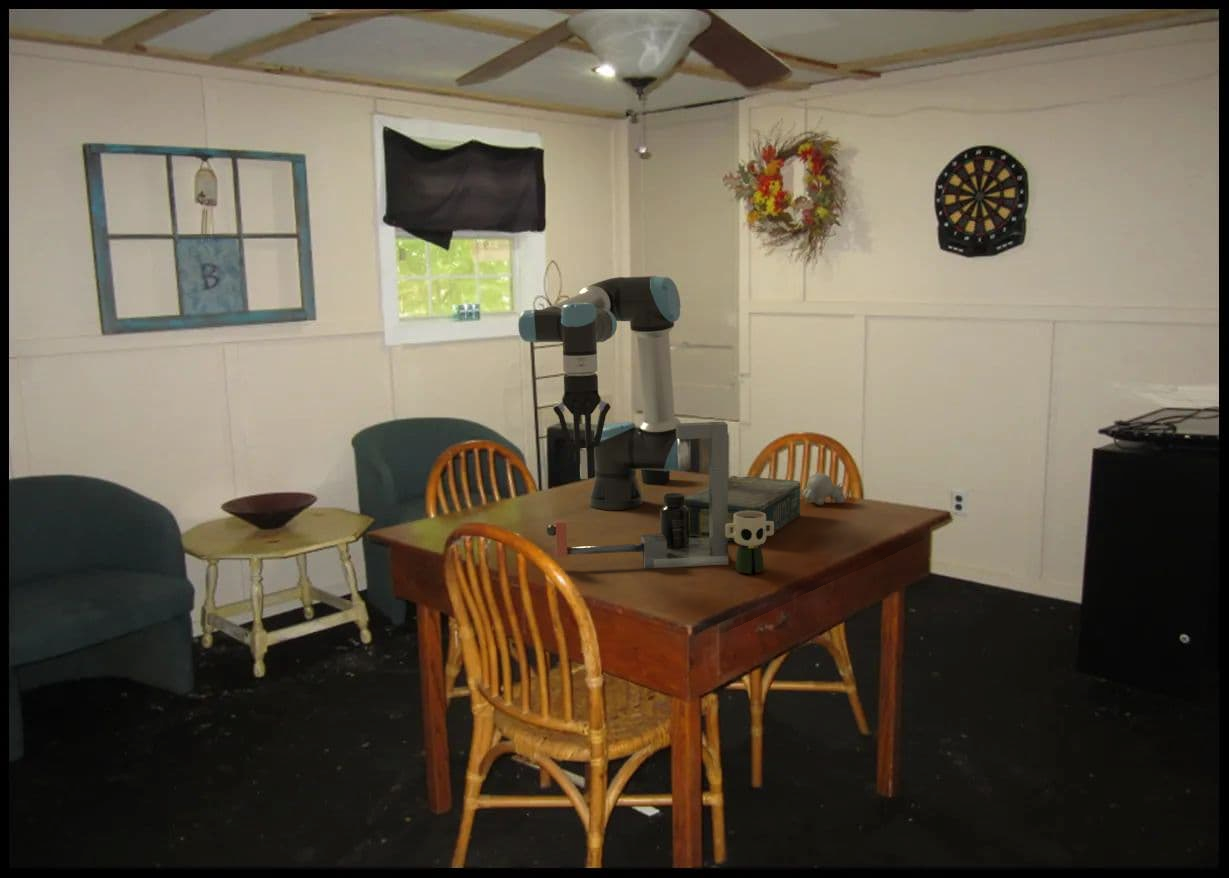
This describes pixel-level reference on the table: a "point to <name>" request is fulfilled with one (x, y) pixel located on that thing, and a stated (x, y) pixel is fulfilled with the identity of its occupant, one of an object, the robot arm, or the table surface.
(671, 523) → the supplement bottle
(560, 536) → the lever
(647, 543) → the press
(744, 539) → the character mug
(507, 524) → the table surface
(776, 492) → the metal box
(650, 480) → the pen holder
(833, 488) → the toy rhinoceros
